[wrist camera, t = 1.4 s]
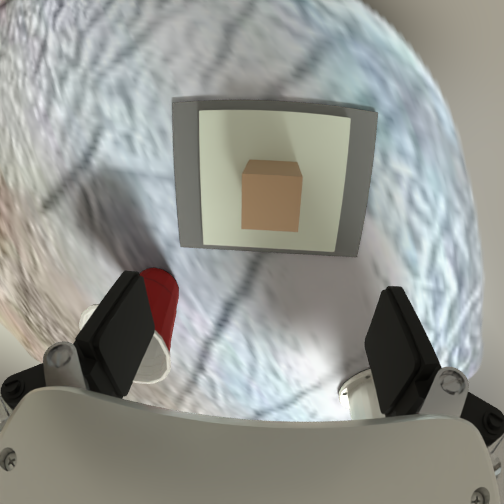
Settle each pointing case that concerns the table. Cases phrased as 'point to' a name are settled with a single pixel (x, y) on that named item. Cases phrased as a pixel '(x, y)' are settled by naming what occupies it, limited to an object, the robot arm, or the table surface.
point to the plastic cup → (163, 312)
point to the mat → (188, 112)
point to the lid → (272, 178)
